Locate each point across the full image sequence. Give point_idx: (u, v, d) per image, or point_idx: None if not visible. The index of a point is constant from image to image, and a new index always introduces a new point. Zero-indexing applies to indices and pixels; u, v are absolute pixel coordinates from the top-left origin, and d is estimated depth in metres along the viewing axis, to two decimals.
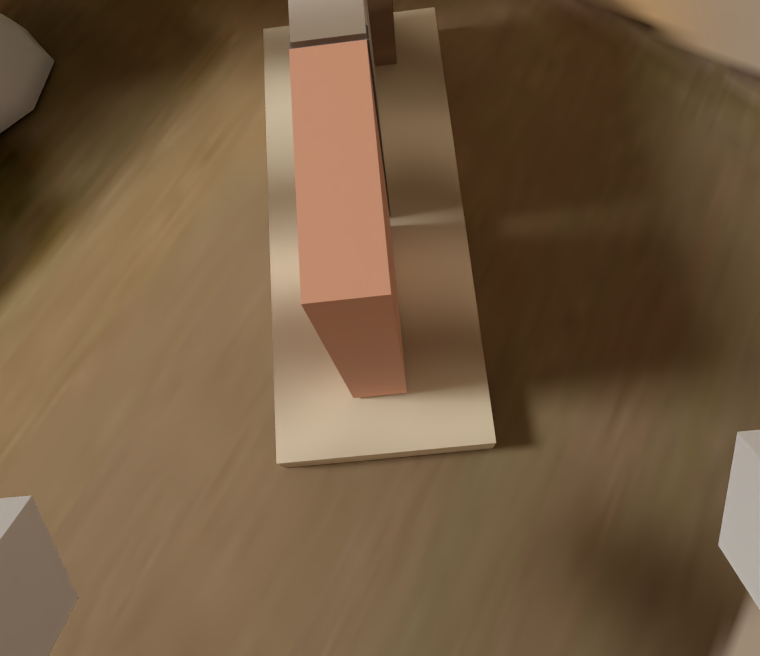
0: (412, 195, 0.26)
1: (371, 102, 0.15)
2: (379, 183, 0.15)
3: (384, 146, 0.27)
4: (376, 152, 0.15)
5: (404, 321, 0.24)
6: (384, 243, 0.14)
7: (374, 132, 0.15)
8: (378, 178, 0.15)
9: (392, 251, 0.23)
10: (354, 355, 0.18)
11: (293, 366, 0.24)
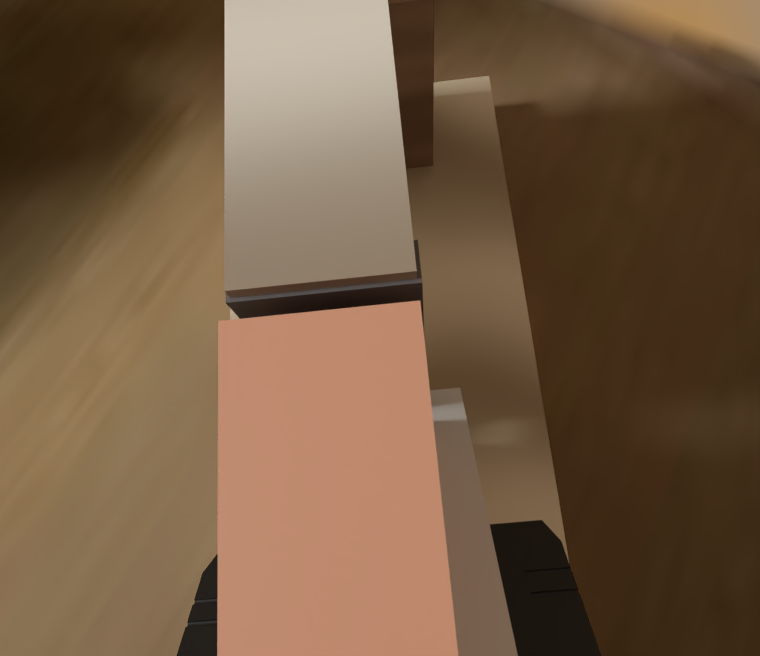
0: (462, 392, 0.16)
1: (438, 503, 0.06)
2: None
3: None
4: None
5: None
6: None
7: (450, 613, 0.05)
8: None
9: None
10: None
11: None
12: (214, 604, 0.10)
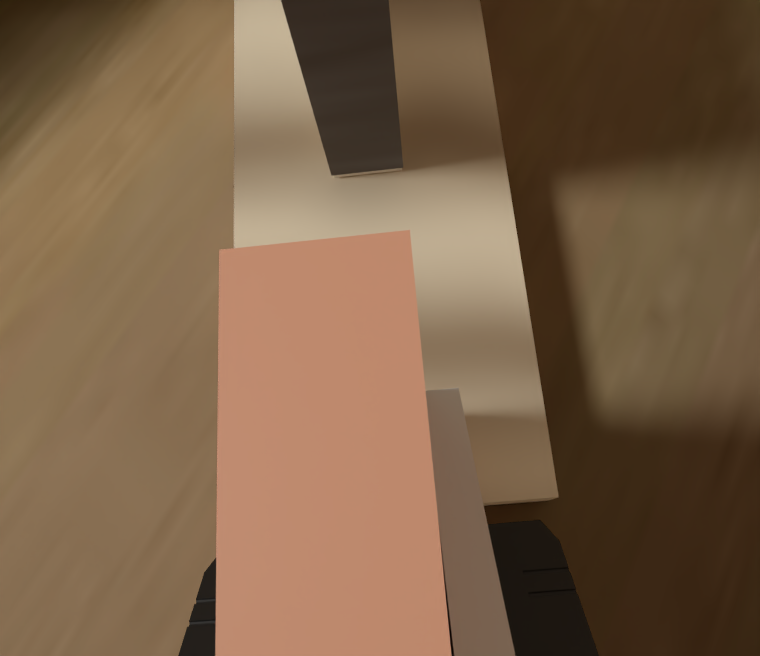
0: (433, 140, 0.19)
1: (424, 413, 0.06)
2: None
3: (395, 75, 0.20)
4: (441, 580, 0.05)
5: (422, 316, 0.17)
6: None
7: (434, 511, 0.06)
8: None
9: None
10: None
11: None
12: (215, 604, 0.10)
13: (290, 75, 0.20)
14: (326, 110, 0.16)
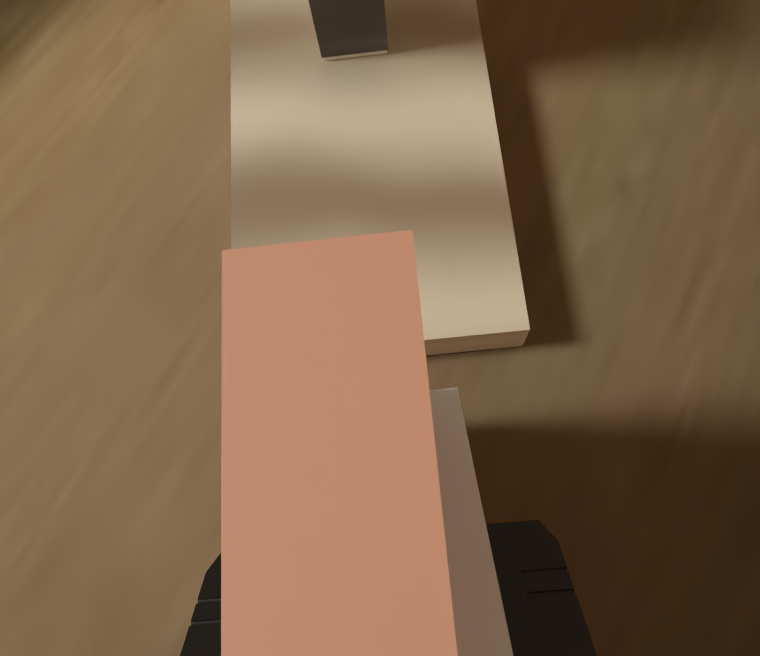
0: (416, 27, 0.20)
1: (428, 413, 0.06)
2: None
3: None
4: (446, 579, 0.05)
5: (405, 178, 0.18)
6: None
7: (439, 511, 0.06)
8: None
9: None
10: None
11: (257, 235, 0.18)
12: (217, 603, 0.10)
13: None
14: None
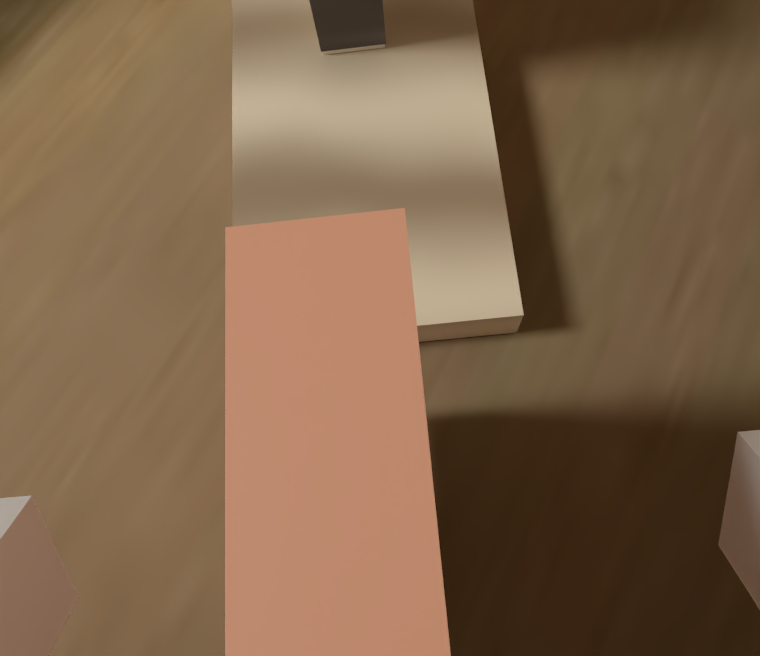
0: (414, 21, 0.21)
1: (419, 377, 0.06)
2: (445, 626, 0.06)
3: None
4: (435, 528, 0.06)
5: (402, 168, 0.19)
6: None
7: (428, 466, 0.06)
8: (442, 611, 0.06)
9: None
10: None
11: None
12: None
13: None
14: None
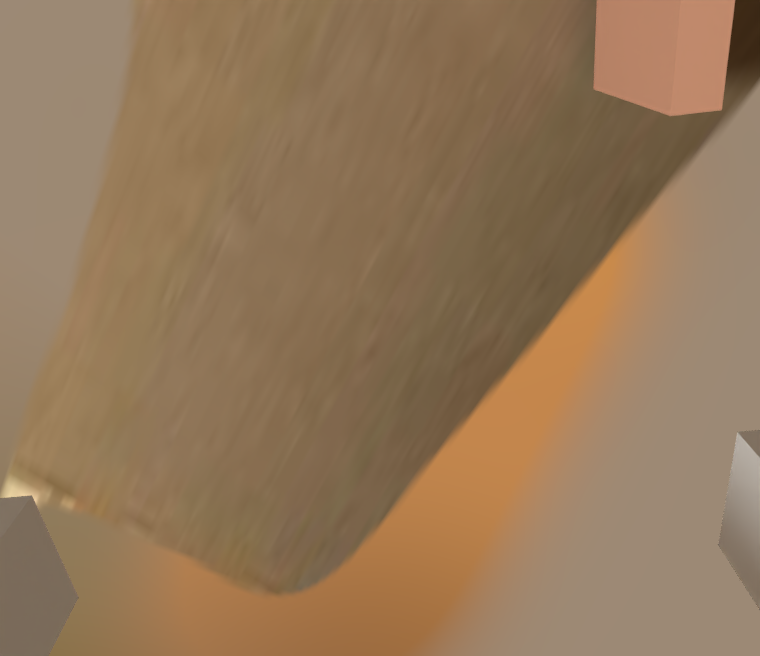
0: None
1: None
2: (730, 32, 0.24)
3: None
4: (733, 7, 0.23)
5: None
6: (724, 76, 0.24)
7: None
8: (730, 28, 0.24)
9: None
10: None
11: None
12: None
13: None
14: None
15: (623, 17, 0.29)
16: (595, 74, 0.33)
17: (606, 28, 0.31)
